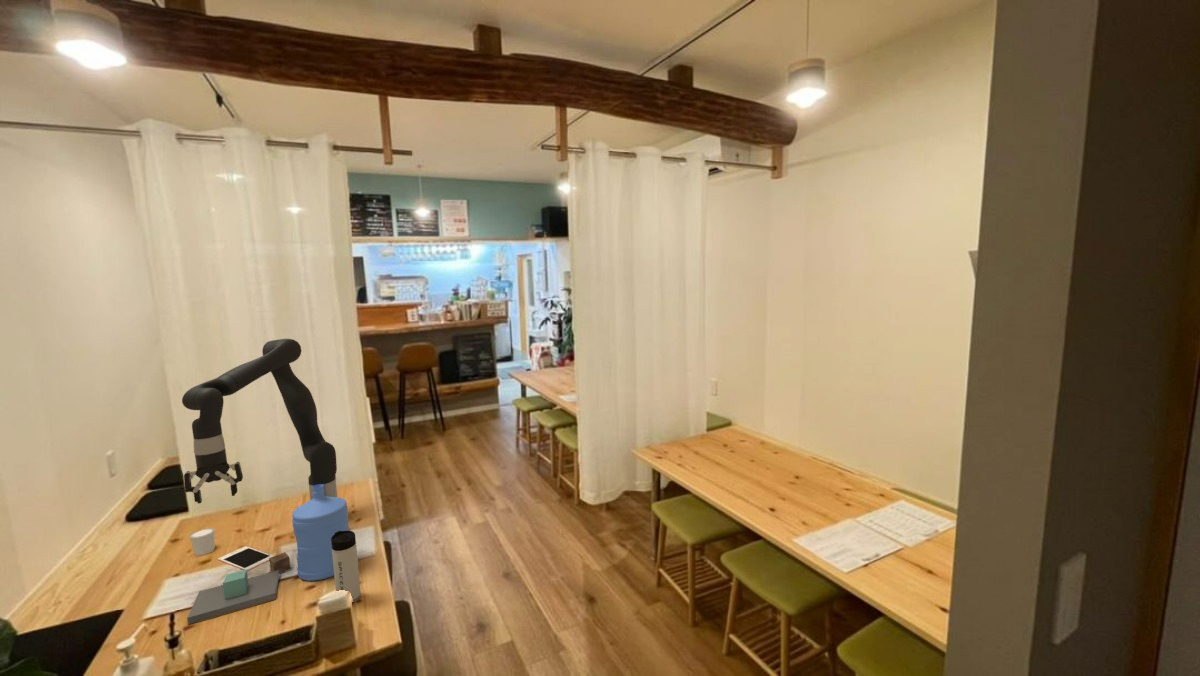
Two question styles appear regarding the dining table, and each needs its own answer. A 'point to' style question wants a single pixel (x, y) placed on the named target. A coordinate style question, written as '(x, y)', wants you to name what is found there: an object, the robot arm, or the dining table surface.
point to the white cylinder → (203, 541)
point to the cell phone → (245, 558)
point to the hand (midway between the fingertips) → (217, 498)
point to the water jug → (318, 533)
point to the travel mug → (346, 563)
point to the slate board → (233, 598)
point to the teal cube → (235, 584)
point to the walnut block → (280, 563)
